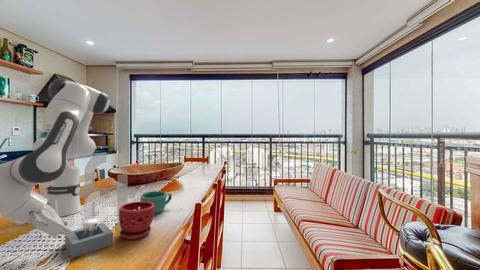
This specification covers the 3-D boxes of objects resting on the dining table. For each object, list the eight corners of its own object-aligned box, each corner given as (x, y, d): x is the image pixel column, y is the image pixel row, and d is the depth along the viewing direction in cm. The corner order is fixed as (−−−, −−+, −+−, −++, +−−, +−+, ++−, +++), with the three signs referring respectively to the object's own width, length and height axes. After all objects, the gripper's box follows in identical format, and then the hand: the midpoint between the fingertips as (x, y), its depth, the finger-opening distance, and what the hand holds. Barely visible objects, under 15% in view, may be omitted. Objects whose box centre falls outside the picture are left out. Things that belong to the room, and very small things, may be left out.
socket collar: (71, 258, 67) (72, 244, 67) (64, 244, 75) (65, 232, 75) (112, 244, 76) (113, 232, 76) (102, 233, 84) (103, 222, 84)
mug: (144, 218, 101) (145, 199, 101) (137, 210, 110) (137, 193, 110) (176, 210, 112) (176, 193, 112) (167, 204, 121) (167, 188, 121)
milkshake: (85, 241, 78) (86, 215, 78) (99, 241, 78) (100, 215, 78) (76, 247, 73) (77, 219, 73) (92, 247, 74) (93, 219, 74)
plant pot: (151, 239, 81) (152, 209, 81) (113, 243, 77) (115, 211, 77) (155, 225, 93) (156, 199, 93) (123, 228, 89) (124, 201, 89)
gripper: (43, 207, 58) (84, 230, 66) (36, 193, 72) (70, 214, 79) (20, 228, 55) (65, 250, 62) (16, 209, 68) (54, 229, 76)
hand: (68, 229), depth 71 cm, fingers open, 8 cm apart
